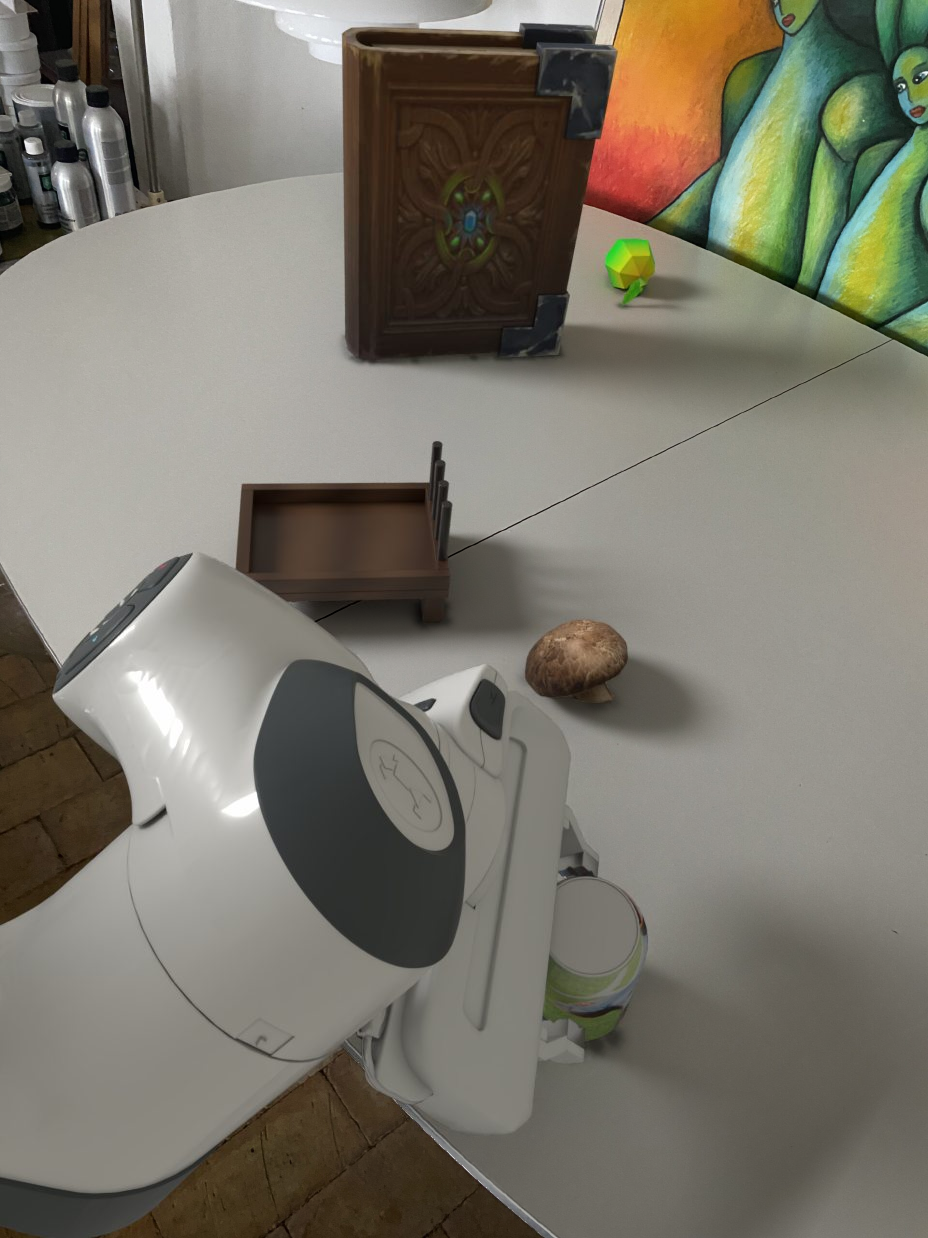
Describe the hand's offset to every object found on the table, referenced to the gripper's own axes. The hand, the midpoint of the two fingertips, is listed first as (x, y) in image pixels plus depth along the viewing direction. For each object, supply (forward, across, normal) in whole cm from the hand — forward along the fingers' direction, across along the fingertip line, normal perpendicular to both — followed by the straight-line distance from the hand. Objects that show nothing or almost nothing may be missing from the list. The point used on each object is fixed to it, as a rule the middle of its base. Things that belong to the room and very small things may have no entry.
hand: (581, 953), depth 46 cm
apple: (+5, +88, +5) cm, 88 cm away
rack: (-10, +30, +20) cm, 38 cm away
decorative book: (-8, +69, +19) cm, 72 cm away
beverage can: (+6, 0, +5) cm, 8 cm away
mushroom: (+4, +24, +6) cm, 25 cm away
